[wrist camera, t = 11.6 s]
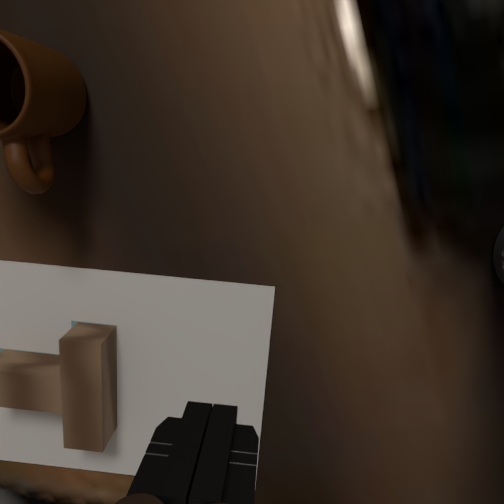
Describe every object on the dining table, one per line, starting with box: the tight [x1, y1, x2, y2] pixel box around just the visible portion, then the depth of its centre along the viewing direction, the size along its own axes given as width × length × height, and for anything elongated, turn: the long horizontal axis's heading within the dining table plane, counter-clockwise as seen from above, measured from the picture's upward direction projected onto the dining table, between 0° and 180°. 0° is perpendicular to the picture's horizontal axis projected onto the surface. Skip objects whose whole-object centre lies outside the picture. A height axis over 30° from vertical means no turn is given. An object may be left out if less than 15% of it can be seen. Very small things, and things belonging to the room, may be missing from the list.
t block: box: [0, 322, 117, 453], centre depth 44 cm, size 12×12×4 cm
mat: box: [0, 260, 275, 486], centre depth 46 cm, size 32×24×1 cm
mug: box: [0, 30, 87, 194], centre depth 35 cm, size 12×8×9 cm, turn 14°
